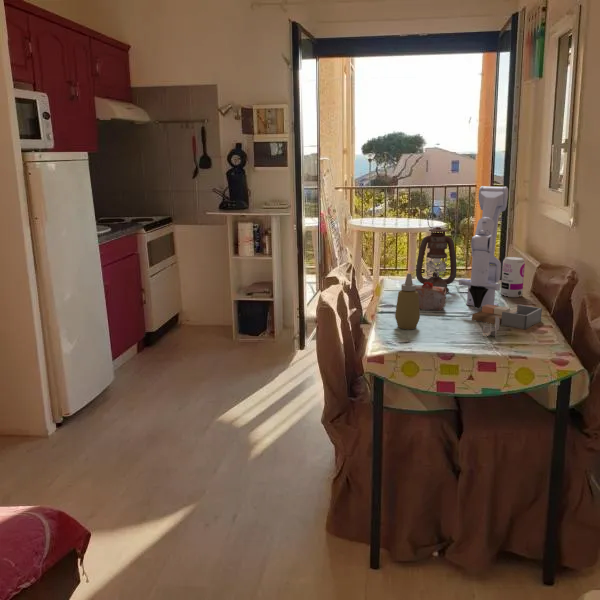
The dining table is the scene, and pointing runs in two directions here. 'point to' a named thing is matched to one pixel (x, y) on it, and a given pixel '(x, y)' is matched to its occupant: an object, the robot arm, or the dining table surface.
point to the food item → (431, 296)
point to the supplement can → (512, 276)
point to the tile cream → (501, 310)
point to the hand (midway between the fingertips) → (477, 307)
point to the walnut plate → (488, 317)
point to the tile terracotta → (488, 308)
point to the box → (522, 317)
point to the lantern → (437, 257)
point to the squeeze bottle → (407, 305)
